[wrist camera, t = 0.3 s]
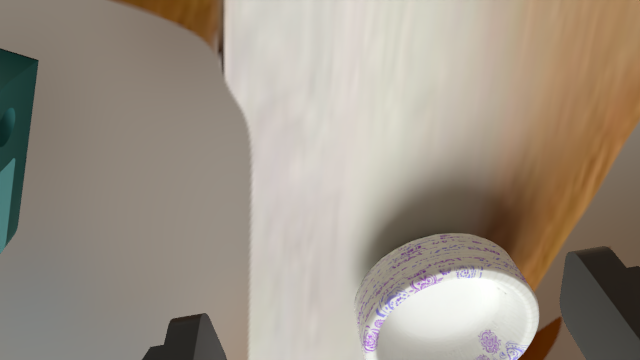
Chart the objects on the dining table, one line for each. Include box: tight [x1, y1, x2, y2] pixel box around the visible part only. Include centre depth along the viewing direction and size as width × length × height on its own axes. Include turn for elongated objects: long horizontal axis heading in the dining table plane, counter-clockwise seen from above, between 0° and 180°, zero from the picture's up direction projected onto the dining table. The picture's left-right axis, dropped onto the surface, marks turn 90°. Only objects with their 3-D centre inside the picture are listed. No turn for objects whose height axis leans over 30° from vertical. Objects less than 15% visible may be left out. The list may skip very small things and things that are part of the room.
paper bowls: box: [355, 233, 539, 360], centre depth 45 cm, size 15×15×8 cm
